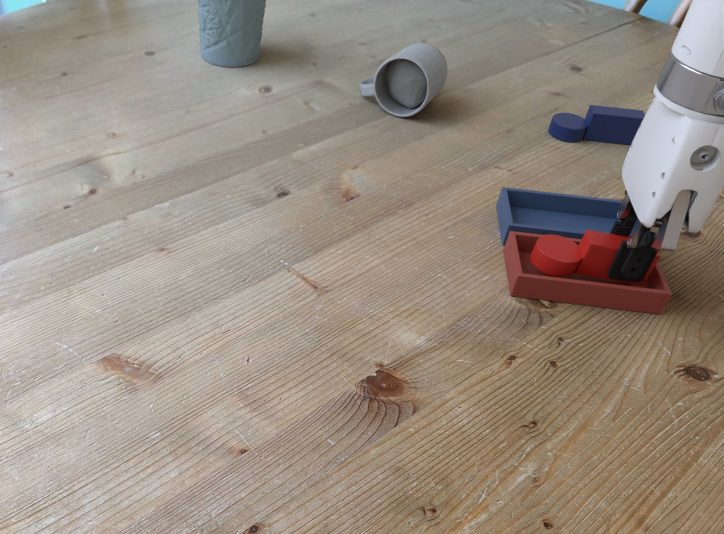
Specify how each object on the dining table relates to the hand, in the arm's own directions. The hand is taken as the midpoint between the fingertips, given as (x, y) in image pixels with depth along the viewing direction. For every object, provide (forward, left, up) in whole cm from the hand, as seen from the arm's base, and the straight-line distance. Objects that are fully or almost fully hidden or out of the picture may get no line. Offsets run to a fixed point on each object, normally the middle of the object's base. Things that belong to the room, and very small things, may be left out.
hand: (620, 267), depth 72 cm
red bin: (+3, 0, -2) cm, 4 cm away
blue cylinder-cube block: (-4, -31, -2) cm, 31 cm away
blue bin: (+3, -8, -2) cm, 9 cm away
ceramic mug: (+21, -35, -2) cm, 41 cm away
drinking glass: (+45, -45, -2) cm, 64 cm away
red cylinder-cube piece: (+3, 0, -1) cm, 3 cm away
